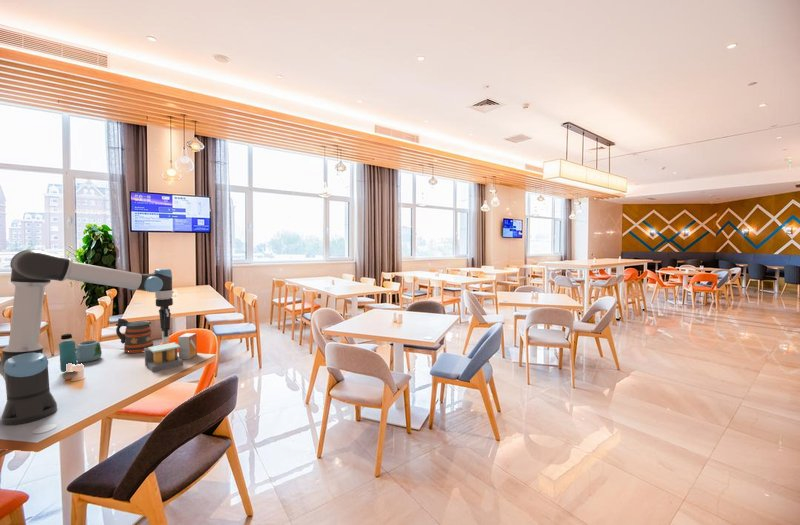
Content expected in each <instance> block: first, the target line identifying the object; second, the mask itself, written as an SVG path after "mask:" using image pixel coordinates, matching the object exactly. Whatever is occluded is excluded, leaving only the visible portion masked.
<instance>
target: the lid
mask: <svg viewBox="0 0 800 525" xmlns="http://www.w3.org/2000/svg"><path fill="white" fill-rule="evenodd" d="M176 343H177V342H176ZM176 343H175V342H168V343H162V344H158V345H153V346H152V347H148V349H149V350H150V351H151V352H153V353H155V352H160V351H165V350H170V349H175V348H177V349H179V348H180V346H179V344H178V343H177V344H176Z"/></svg>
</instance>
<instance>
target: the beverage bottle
mask: <svg viewBox="0 0 800 525" xmlns="http://www.w3.org/2000/svg"><path fill="white" fill-rule="evenodd" d="M72 338H73V335H72V334H71V333H65V334H61V336H60V339H61V341H60V342H59V344H58V352H59V365H60V367H59V368H60V372H62V373H66V372H65V371H66V364H68V363H72V364H75V365H76V364H77V365H78V361H77V360H76V357H77V356H76V348H77V346H76V341H75V340H74V339H72Z"/></svg>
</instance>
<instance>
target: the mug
mask: <svg viewBox="0 0 800 525" xmlns="http://www.w3.org/2000/svg"><path fill="white" fill-rule="evenodd" d="M101 346H102V345H101V342H100V341H99V340H87V341H82V342H79V343H78V344H76V356H77V357H76V360H77V362H80V363H88V362H93V361H97V360H99V359H100V358H101V357H102V354H103V353H102V348H101Z"/></svg>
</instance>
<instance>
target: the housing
mask: <svg viewBox="0 0 800 525" xmlns="http://www.w3.org/2000/svg"><path fill="white" fill-rule="evenodd" d="M174 343H176V344H178V343H177V342H174ZM143 353H144V365H145V366H146V367H147V368H148V369H149V370H150V372H157V371H162V370H166V369H169V368H175V367H178V366H183V364H184V362H183V361H184V359H181V358H179V355H178V348H175V360H173V361H169V362H167V357H166V350H165V351H160V352H155V353H153V352H151V351H150V350H149V349H148V350H147V348H144V352H143Z"/></svg>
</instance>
